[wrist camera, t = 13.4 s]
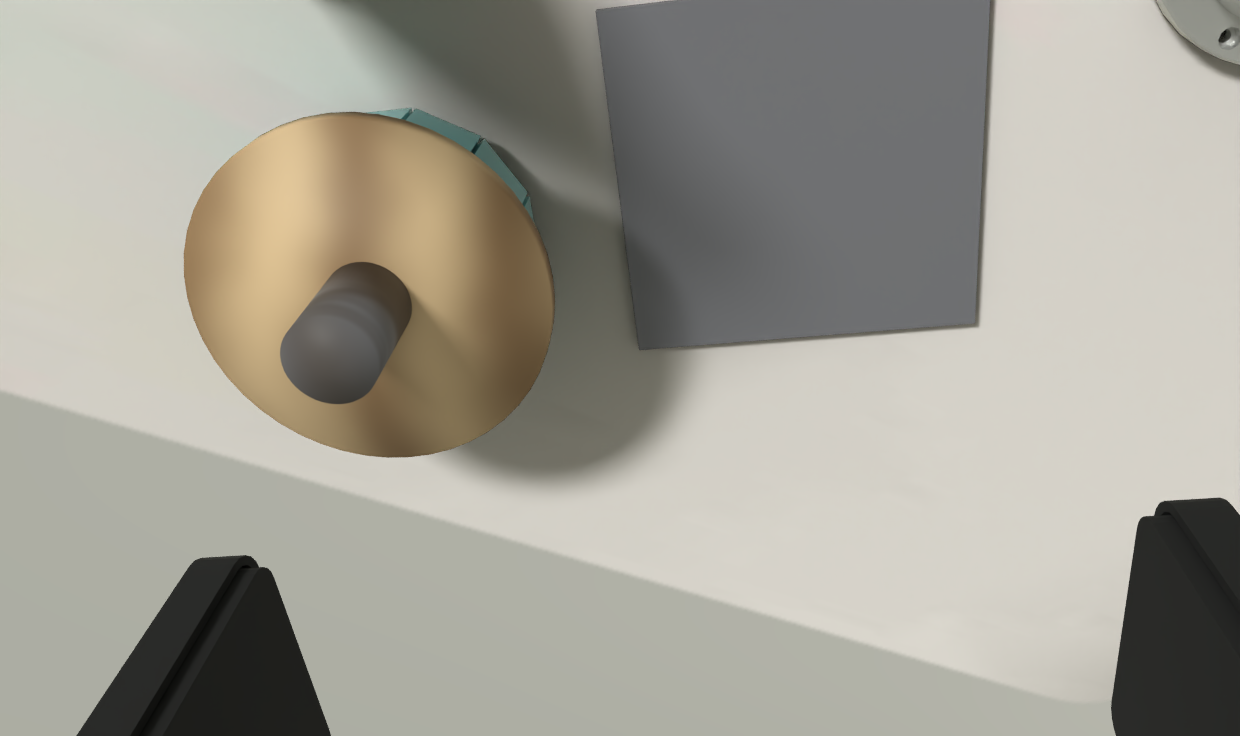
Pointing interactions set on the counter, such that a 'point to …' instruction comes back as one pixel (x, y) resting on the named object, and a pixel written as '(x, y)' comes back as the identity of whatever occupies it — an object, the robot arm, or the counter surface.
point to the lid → (370, 284)
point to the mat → (797, 164)
